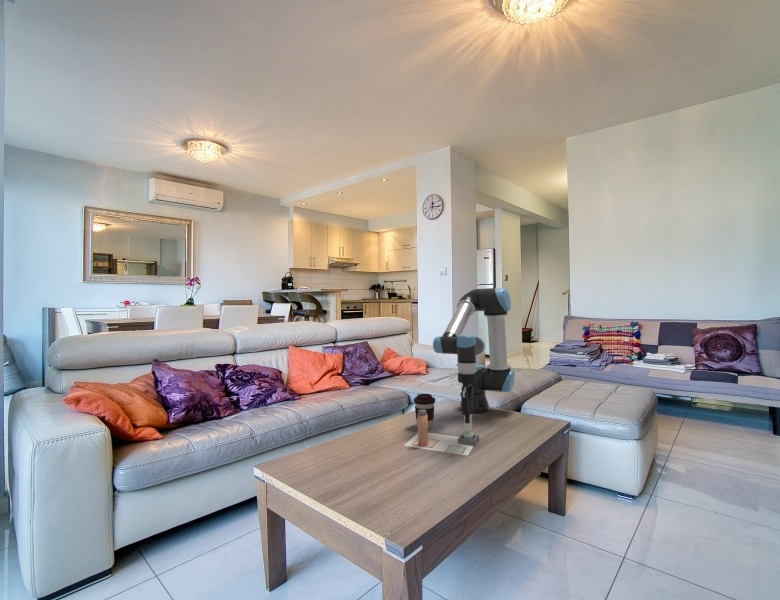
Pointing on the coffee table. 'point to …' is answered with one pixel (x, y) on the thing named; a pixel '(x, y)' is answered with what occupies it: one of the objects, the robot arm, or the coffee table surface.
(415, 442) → the sheet
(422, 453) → the coffee table surface
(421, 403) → the coffee cup
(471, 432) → the button
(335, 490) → the coffee table surface
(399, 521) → the coffee table surface
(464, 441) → the button housing
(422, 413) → the marker
